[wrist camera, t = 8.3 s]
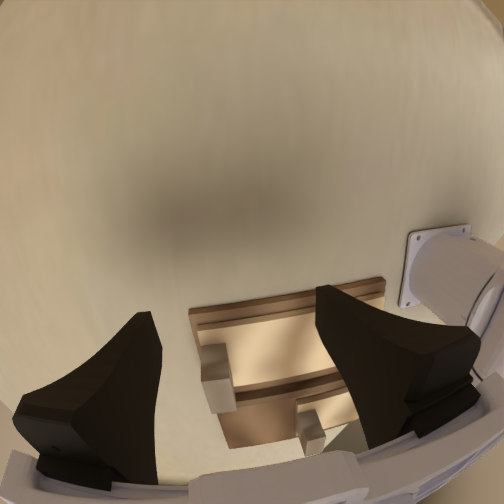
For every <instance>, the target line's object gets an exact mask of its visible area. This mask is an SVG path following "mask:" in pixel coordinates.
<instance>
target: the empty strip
mask: <svg viewBox="0 0 504 504" xmlns="http://www.w3.org/2000/svg"><path fill="white" fill-rule="evenodd" d="M357 299H359V300H361V301H363V302H365V303H367V304H369V305H371V306H373V307H376V308H378V309H380V310H383V308H384V302H385V295H383V294H382V293H381V292H379V293H375V294H370V295H366V296H362V297H357ZM197 333H198V337H199V341H200V345H201V383H202V386H203V389H204V392H205V395H206V398H207V401H208V404H209V407H210V410H211V413H212V414H215V413H224V412H232V411H237V406H236V399H235V392H234V387H236V386H243V385H249V384H255V383H261V382H267V381H272V380H278V379H283V378H288V377H292V376H297V375H302V374H306V373H310V372H315V371H319V370H323V369H327V368H331V367H335V364H334V362H333V361H332V359H331V357H330V356H329V354H328V352H327V350H326V349H325V347H324V345H323V343H322V341H321V339H320V337H319V334H318V331H317V329H316V326H315V307H309V308H304V309H299V310H294V311H288V312H282V313H277V314H271V315H265V316H259V317H252V318H246V319H239V320H233V321H226V322H218V323H211V324H203V325H197Z"/></svg>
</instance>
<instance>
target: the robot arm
mask: <svg viewBox="0 0 504 504" xmlns="http://www.w3.org/2000/svg"><path fill="white" fill-rule="evenodd" d="M417 236H418V238H417ZM407 302H408V303H407ZM421 303H423V304H424V305H425V306H426V307H427V308H428V309H430V310H431V311H432V312H433V313H434V314H435V315H436V316H437V317H439V318H440V319H441V320H442V321H443V322H444V323H445V324H446V325H438V324H431V323H425V322H420V321H415V320H411V319H407V318H403V317H400V316H397V315H394V314H391V313H388V312H385V311H383V310H380V309H378V308H376V307H373V306H371V305H369V304H367V303H365V302H363V301H361V300H359V299H357V298H355V297H353V296H351V295H349V294H347V293H345V292H343V291H341V290H339V289H337V288H335V287H333V286H331V285H324V286H319V287H316V306H315V326H316V329H317V331H318V334H319V337H320V339H321V341H322V343H323V345H324V347H325V349H326V350H327V352H328V354H329V356H330V357H331V359H332V361H333V362H334V364H335V366H336V368H337V369H338V371H339V373H340V374H341V376H342V378H343V380H344V382H345V384H346V386H347V388H348V391H349V393H350V395H351V398H352V400H353V403H354V405H355V408H356V411H357V413H358V416H359V419H360V422H361V425H362V428H363V431H364V434H365V437H366V441H367V444H368V447H369V450H368V451H365V452H363V453H360V454H357V455H354V453H352V452H346V451H339V450H337V451H332V452H326V453H321V454H317V455H313V456H309V457H305V458H301V459H297V460H292V461H288V462H283V463H278V464H273V465H267V466H261V467H255V468H248V469H240V470H232V471H222V472H216V473H211V474H205V475H201V476H199V477H197V478H195V479H193V480H192V481H190V482H189V483H188V486H159V485H158V478H157V470H156V458H155V439H154V416H155V406H156V399H157V393H158V387H159V381H160V375H161V369H162V345H161V342H160V339H159V336H158V333H157V330H156V327H155V324H154V321H153V318H152V315H151V312H150V311H147V312H137V313H136V314H135V315H134V316H133V317H132V318H131V319H130V320H129V321H128V322H127V323H126V324H125V325H124V326H123V327H122V328H121V330H120V331H119V332H118V333H117V334H116V335H115V336H114V337H113V338H112V339H111V340H110V341H109V342H108V343H107V344H106V345H105V346H103V347H102V348H101V349H100V350H99V351H98V352H97V353H96V354H95V355H94V356H92V357H91V358H90V359H89V360H87V361H86V362H85V363H84V364H82V365H81V366H79V367H78V368H76V369H75V370H73V371H72V372H70V373H69V374H67V375H66V376H64V377H62V378H61V379H59V380H57V381H55V382H53V383H51V384H49V385H47V386H45V387H43V388H40V389H38V390H35V391H33V392H30V393H27V394H24V395H23V396H22V398H21V400H20V402H19V405H18V407H17V409H16V411H15V413H14V416H13V418H12V420H13V423H14V426H15V427H16V429H17V431H18V432H19V433H20V434H21V435H22V436H23V437H24V438H25V439H26V440H27V441H28V442H29V443H30V444H31V445H32V446H33V447H34V448H35V449H36V450H37V451H38V452H39V453H40V455H39V459H36V458H35V457H33V456H30V455H28V454H25V453H22V452H18V451H16V450H12V452H11V455H10V458H9V461H8V463H7V467H6V470H5V473H4V476H3V480H2V483H1V487H0V498H1V499H3V500H4V501H5V502H7V503H8V504H416V502H418V501H419V500H421V499H423V498H425V497H426V496H428V495H430V494H431V493H433V492H434V491H436V490H437V489H439V488H440V487H442V486H443V485H445V484H447V483H448V482H449V481H451V480H452V479H454V478H455V477H456V476H458V475H459V474H461V473H462V472H463V471H464V470H466V469H467V468H468V467H470V466H471V465H472V464H474V463H475V462H476V461H477V460H479V459H480V458H481V457H482V456H483V455H485V454H486V453H487V452H488V451H489V450H491V449H492V448H493V447H494V446H495V445H496V444H497V443H498V442H499V441H500V440H501V439H502V438H503V437H504V251H502V250H500V249H498V248H496V247H494V246H492V245H491V244H489V243H487V242H485V241H483V240H481V239H479V238H477V237H475V236H473V235H471V226H470V225H469V224H465V225H458V226H451V227H445V228H438V229H431V230H424V231H417V232H412V233H411V234H410V235H409V238H408V247H407V255H406V263H405V270H404V277H403V283H402V289H401V295H400V300H399V307H400V308H401V309H405V308H409V307H412V306H415V305H418V304H421ZM471 383H472V384H473V385H474V386H475V387H476V388H475V387H474V386H473V385H472V384H471Z"/></svg>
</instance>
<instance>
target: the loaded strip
mask: <svg viewBox="0 0 504 504" xmlns="http://www.w3.org/2000/svg"><path fill="white" fill-rule="evenodd" d="M358 418H359V416H358V413H357V411H356V408H355V405H354V403H353V400H352V398H351V395H350V393H349V391H348V388H347V387H344V388H341V389H338V390H334V391H330V392H327V393H323V394H319V395H315V396H311V397H307V398H303V399H298V400H296V413H295V434H296V436H299V439H300V442H301V445H302V449H303V452H304V455H305V457H306V456H310V455H314V454H318V453H321V452H323V448H324V443H325V439H326V435H325V432H324V430H323V429H326V428H330V427H333V426H337V425H340V424H343V423H346V422H349V421H352V420H355V419H358Z"/></svg>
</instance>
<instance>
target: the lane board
mask: <svg viewBox="0 0 504 504" xmlns="http://www.w3.org/2000/svg"><path fill="white" fill-rule="evenodd" d="M385 286H386V280H385V279H384V278H383V277H378V278H374V279H369V280H364V281H359V282H354V283H349V284H344V285H339V286H334V287H335V288H337V289H339V290H341V291H343V292H345V293H347V294H349V295H351V296H353V297H355V298H357V297H362V296H366V295H370V294H375V293H379V292H381V293H382V294H383V295H384V293H385ZM315 306H316V290H313V291H307V292H302V293H296V294H290V295H284V296H278V297H272V298H266V299H260V300H253V301H247V302H240V303H234V304H227V305H219V306H212V307H205V308H197V309H189V319H190V323H191V327H192V331H193V334H194V338H195V342H196V346H197V349H198V353H199V356H200V360H201V345H200V341H199V337H198V333H197V325H203V324H211V323H218V322H226V321H233V320H239V319H246V318H252V317H259V316H265V315H271V314H277V313H282V312H288V311H294V310H299V309H304V308H309V307H315ZM344 387H347V386H346V384H345V382H344V380H343V378H342V376H341V374H340V373H339V371H338V369H337V368H336V366H335V367H331V368H327V369H323V370H319V371H315V372H310V373H306V374H302V375H297V376H292V377H288V378H283V379H278V380H272V381H267V382H261V383H255V384H249V385H243V386H236V387H234V392H235V399H236V406H237V411H232V412H224V413H217V415H218V418H219V421H220V424H221V427H222V430H223V433H224V436H225V439H226V441H227V444H228V447H229V449H233V448H241V447H248V446H255V445H261V444H267V443H272V442H277V441H282V440H287V439H292V438H296V437H299V436H296V434H295V413H296V400H298V399H303V398H307V397H311V396H315V395H319V394H323V393H327V392H330V391H334V390H338V389H341V388H344ZM353 421H355V420H352V421H349V422H346V423H343V424H340V425H337V426H341V425H344V424H347V423H350V422H353ZM337 426H333V427H330V428H326V429H323V430H327V429H331V428H334V427H337Z"/></svg>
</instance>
